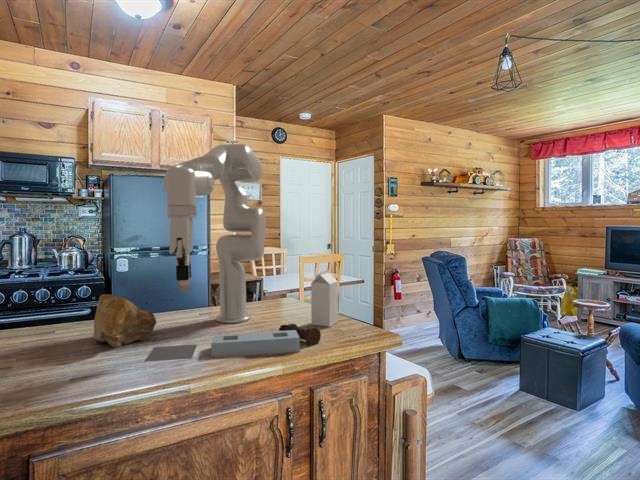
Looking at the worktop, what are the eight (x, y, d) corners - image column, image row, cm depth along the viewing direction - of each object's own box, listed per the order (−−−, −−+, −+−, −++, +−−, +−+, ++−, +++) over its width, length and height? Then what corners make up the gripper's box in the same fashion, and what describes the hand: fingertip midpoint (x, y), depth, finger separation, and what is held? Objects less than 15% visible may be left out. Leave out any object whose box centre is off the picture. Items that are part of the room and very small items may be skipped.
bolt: (284, 340, 130) (317, 348, 119) (273, 335, 127) (306, 343, 116) (290, 323, 132) (323, 329, 121) (280, 317, 129) (312, 324, 118)
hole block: (211, 358, 108) (211, 343, 108) (213, 348, 116) (213, 335, 115) (299, 351, 112) (299, 337, 112) (295, 343, 120) (295, 329, 120)
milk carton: (337, 322, 144) (337, 270, 143) (329, 327, 138) (329, 272, 137) (319, 320, 147) (319, 269, 146) (311, 325, 141) (310, 271, 140)
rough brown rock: (163, 348, 119) (166, 297, 120) (100, 354, 110) (103, 300, 110) (145, 333, 138) (147, 289, 139) (90, 337, 128) (93, 291, 129)
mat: (154, 348, 116) (154, 347, 116) (197, 345, 119) (196, 344, 119) (144, 362, 105) (144, 361, 105) (192, 359, 107) (192, 357, 107)
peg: (179, 289, 113) (178, 253, 112) (190, 288, 113) (189, 253, 113) (177, 291, 110) (176, 254, 109) (188, 290, 110) (187, 254, 110)
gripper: (173, 213, 118) (175, 275, 119) (161, 212, 101) (163, 284, 103) (199, 213, 119) (201, 274, 120) (191, 212, 103) (193, 283, 104)
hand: (183, 278), depth 111 cm, fingers closed on peg, 3 cm apart
